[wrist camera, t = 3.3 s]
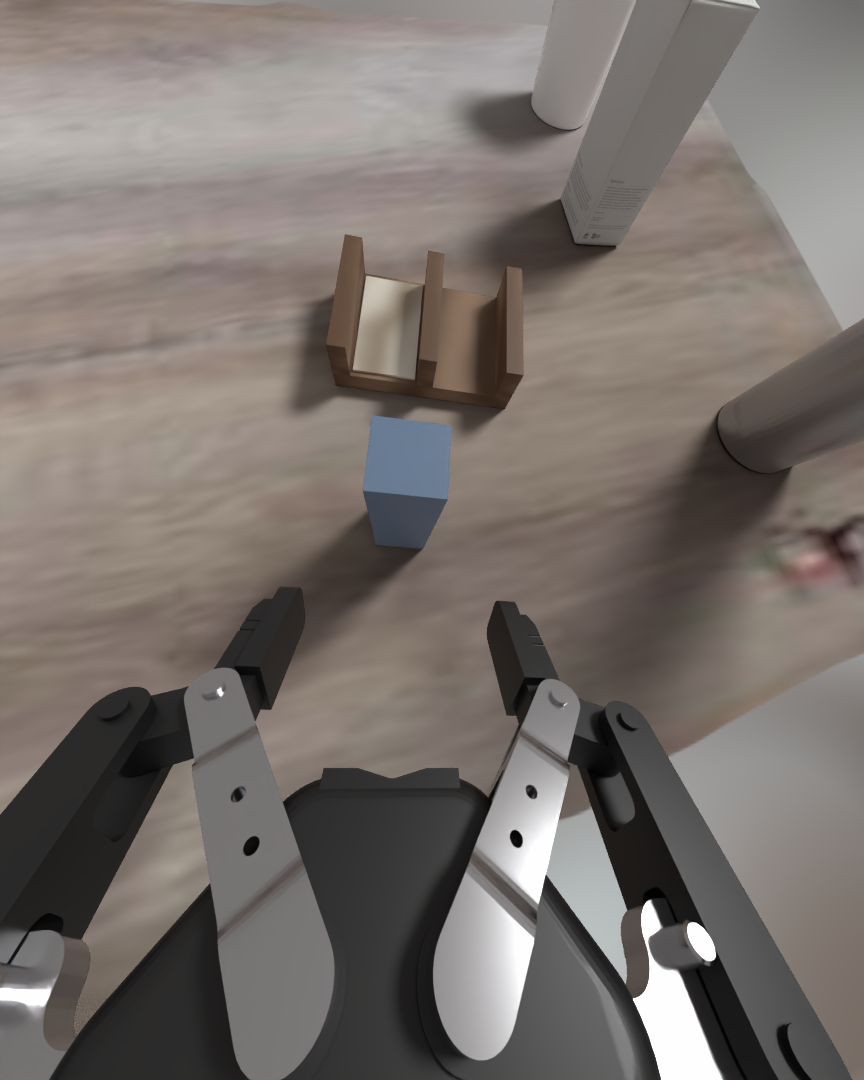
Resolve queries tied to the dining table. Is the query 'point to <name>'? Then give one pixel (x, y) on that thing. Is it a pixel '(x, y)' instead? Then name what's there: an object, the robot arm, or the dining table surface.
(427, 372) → the rack
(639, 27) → the skincare box
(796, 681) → the dining table surface
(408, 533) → the block
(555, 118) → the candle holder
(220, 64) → the dining table surface
